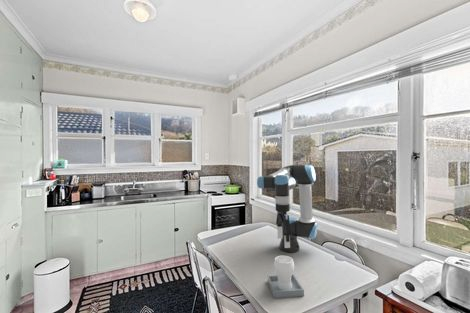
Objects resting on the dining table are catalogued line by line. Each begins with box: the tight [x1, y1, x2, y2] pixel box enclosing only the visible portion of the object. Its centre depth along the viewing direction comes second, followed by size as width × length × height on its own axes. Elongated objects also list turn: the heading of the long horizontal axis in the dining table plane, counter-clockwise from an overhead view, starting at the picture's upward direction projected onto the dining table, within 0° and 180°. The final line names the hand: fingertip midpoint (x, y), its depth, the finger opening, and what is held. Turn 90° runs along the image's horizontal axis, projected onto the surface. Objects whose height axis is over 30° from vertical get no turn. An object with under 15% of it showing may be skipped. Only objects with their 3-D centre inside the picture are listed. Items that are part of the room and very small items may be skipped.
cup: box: [273, 255, 295, 290], centre depth 123 cm, size 11×11×15 cm
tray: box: [267, 273, 305, 299], centre depth 122 cm, size 15×15×3 cm
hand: (283, 242), depth 123 cm, fingers open, 13 cm apart
